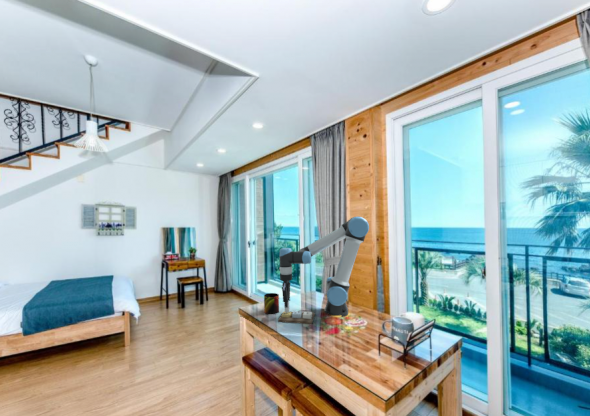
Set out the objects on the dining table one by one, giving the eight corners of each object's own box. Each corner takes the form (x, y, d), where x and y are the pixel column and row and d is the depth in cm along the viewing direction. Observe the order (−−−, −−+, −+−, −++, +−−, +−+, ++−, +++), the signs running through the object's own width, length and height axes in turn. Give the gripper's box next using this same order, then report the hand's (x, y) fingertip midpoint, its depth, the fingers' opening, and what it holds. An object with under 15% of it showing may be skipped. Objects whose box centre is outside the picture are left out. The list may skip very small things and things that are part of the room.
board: (314, 317, 166) (314, 312, 166) (311, 326, 152) (311, 321, 152) (284, 315, 170) (283, 311, 170) (278, 323, 156) (278, 319, 156)
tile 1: (291, 317, 164) (291, 311, 164) (289, 320, 159) (289, 314, 159) (283, 317, 165) (283, 311, 165) (281, 320, 160) (281, 314, 160)
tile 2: (312, 317, 162) (312, 311, 162) (311, 320, 157) (310, 314, 157) (304, 317, 163) (304, 311, 163) (302, 320, 158) (302, 314, 158)
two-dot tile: (301, 317, 163) (301, 311, 163) (300, 320, 158) (300, 313, 158) (293, 316, 164) (293, 310, 164) (292, 319, 159) (292, 313, 159)
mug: (273, 308, 183) (273, 290, 184) (281, 314, 171) (281, 296, 171) (260, 310, 179) (260, 292, 179) (267, 317, 167) (267, 298, 167)
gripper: (282, 271, 170) (283, 308, 169) (277, 275, 158) (278, 315, 157) (294, 271, 169) (295, 308, 168) (289, 275, 156) (290, 316, 155)
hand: (286, 311), depth 162 cm, fingers closed
